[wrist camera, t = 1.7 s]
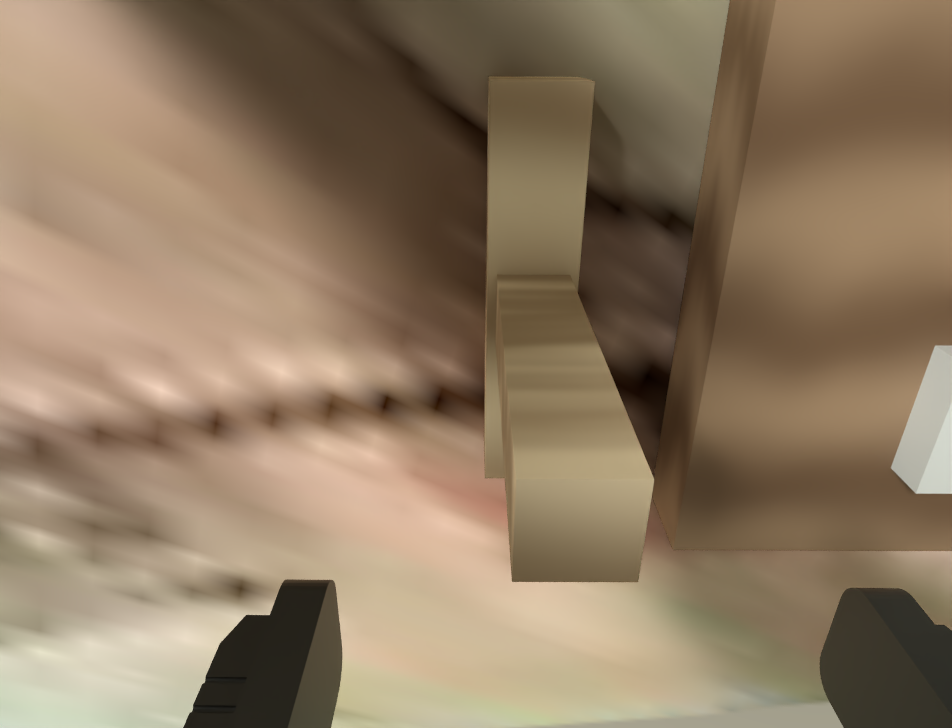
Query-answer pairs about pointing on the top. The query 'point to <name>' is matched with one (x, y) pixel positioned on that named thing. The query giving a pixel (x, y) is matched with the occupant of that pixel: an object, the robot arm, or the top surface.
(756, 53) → the walnut plate
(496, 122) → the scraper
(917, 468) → the grey tile
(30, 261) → the top surface
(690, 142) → the top surface
